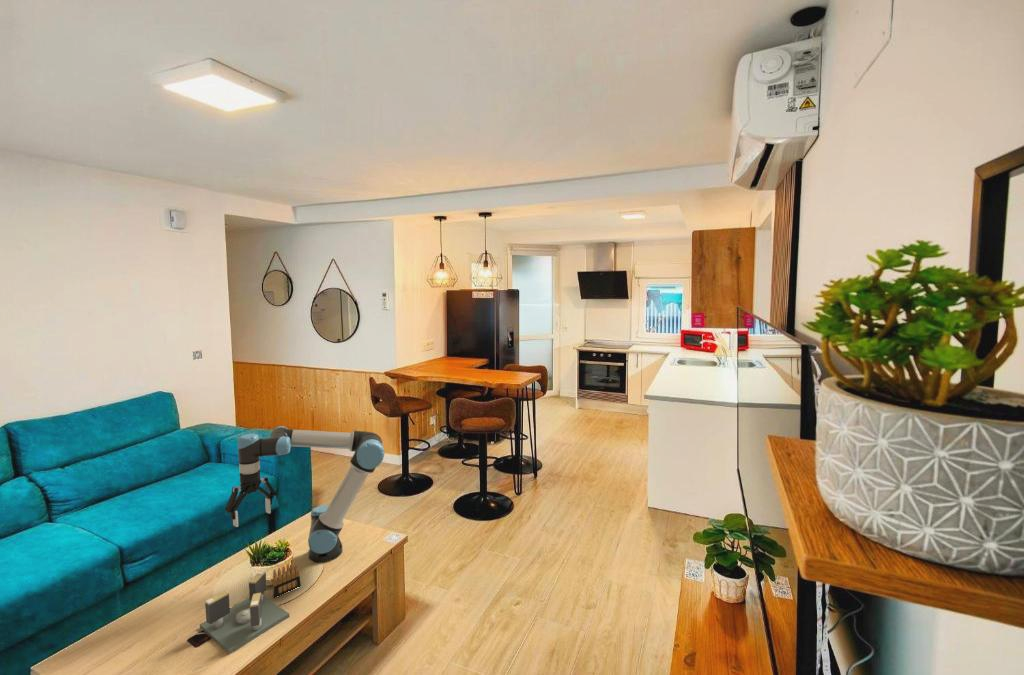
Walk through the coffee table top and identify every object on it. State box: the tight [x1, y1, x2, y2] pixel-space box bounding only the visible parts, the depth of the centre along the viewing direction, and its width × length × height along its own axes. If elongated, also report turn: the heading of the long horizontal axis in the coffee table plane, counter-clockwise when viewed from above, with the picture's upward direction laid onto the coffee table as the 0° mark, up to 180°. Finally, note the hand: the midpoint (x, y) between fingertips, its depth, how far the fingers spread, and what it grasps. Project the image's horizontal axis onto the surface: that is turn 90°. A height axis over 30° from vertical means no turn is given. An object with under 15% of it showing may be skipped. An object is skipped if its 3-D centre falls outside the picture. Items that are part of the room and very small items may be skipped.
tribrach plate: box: [199, 594, 290, 655], centre depth 176 cm, size 22×22×4 cm
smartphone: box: [186, 629, 213, 648], centre depth 171 cm, size 7×1×15 cm
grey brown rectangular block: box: [248, 570, 268, 604], centre depth 183 cm, size 7×3×12 cm, turn 177°
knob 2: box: [250, 593, 262, 631], centre depth 170 cm, size 7×3×12 cm, turn 20°
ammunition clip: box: [272, 560, 302, 599], centre depth 193 cm, size 11×2×12 cm, turn 134°
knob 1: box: [204, 590, 231, 629], centre depth 171 cm, size 7×3×12 cm, turn 150°
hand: (252, 519), depth 196 cm, fingers open, 13 cm apart
